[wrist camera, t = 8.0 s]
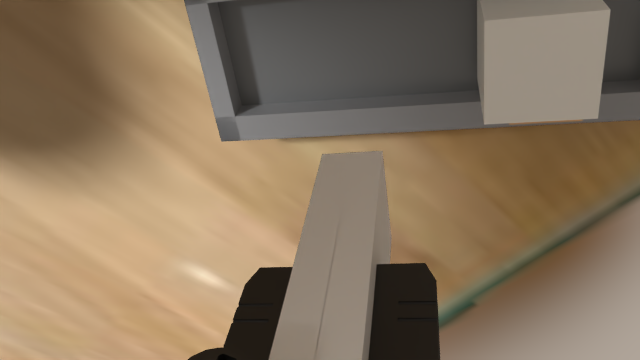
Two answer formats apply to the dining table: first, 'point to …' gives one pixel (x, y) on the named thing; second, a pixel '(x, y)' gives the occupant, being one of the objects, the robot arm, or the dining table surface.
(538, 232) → the dining table surface
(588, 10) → the off-white cube
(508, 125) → the gray divided tray
